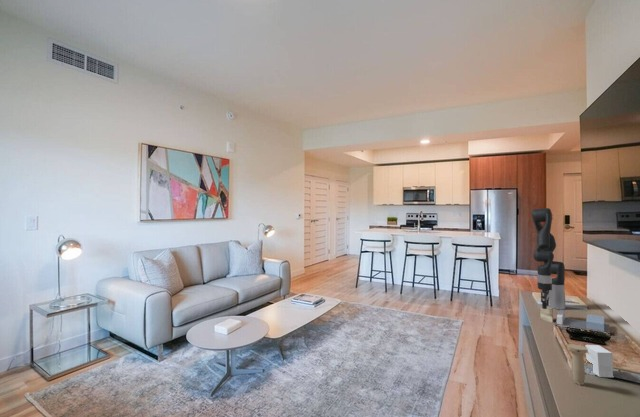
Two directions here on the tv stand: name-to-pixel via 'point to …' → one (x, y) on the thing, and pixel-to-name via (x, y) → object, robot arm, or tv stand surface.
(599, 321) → the vise jaw
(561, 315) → the panel
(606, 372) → the small box
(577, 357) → the handle
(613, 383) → the tv stand surface
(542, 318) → the birch block
